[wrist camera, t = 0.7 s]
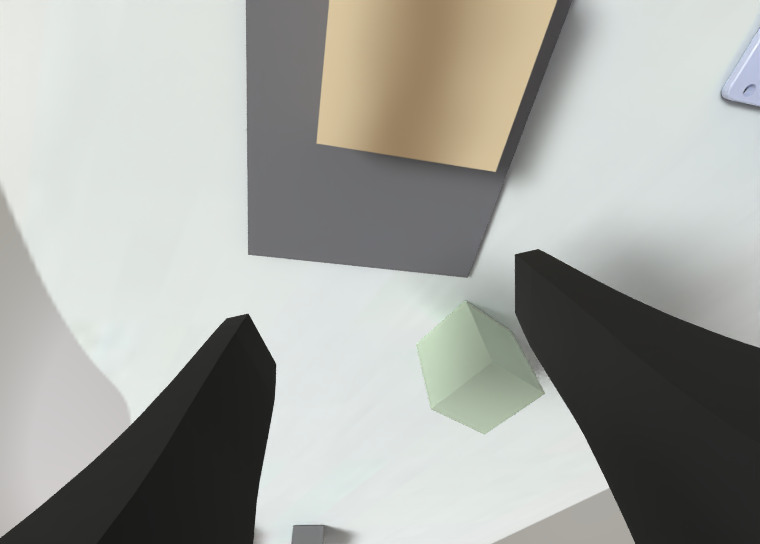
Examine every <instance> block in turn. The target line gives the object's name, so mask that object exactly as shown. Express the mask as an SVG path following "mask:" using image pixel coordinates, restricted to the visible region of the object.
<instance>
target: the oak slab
mask: <svg viewBox="0 0 760 544" xmlns="http://www.w3.org/2000/svg"><path fill="white" fill-rule="evenodd" d="M556 2H557V0H329V9H328V20H327V31H326V43H325V54H324V65H323V76H322V87H321V98H320V110H319V121H318V132H317V144H323V145H330V146H336V147H342V148H348V149H355V150H361V151H367V152H374V153H380V154H386V155H392V156H399V157H405V158H411V159H418V160H424V161H430V162H436V163H443V164H449V165H455V166H462V167H468V168H474V169H480V170H487V171H493V172H496V169H497V167H498V164H499V161H500V158H501V155H502V153H503V150H504V147H505V144H506V141H507V139H508V136H509V133H510V130H511V128H512V125H513V122H514V119H515V116H516V114H517V111H518V108H519V105H520V102H521V100H522V97H523V94H524V91H525V89H526V86H527V83H528V80H529V77H530V75H531V72H532V69H533V66H534V63H535V61H536V58H537V55H538V52H539V50H540V47H541V44H542V41H543V38H544V36H545V33H546V30H547V27H548V24H549V22H550V19H551V16H552V13H553V11H554V8H555V5H556Z"/></svg>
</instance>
